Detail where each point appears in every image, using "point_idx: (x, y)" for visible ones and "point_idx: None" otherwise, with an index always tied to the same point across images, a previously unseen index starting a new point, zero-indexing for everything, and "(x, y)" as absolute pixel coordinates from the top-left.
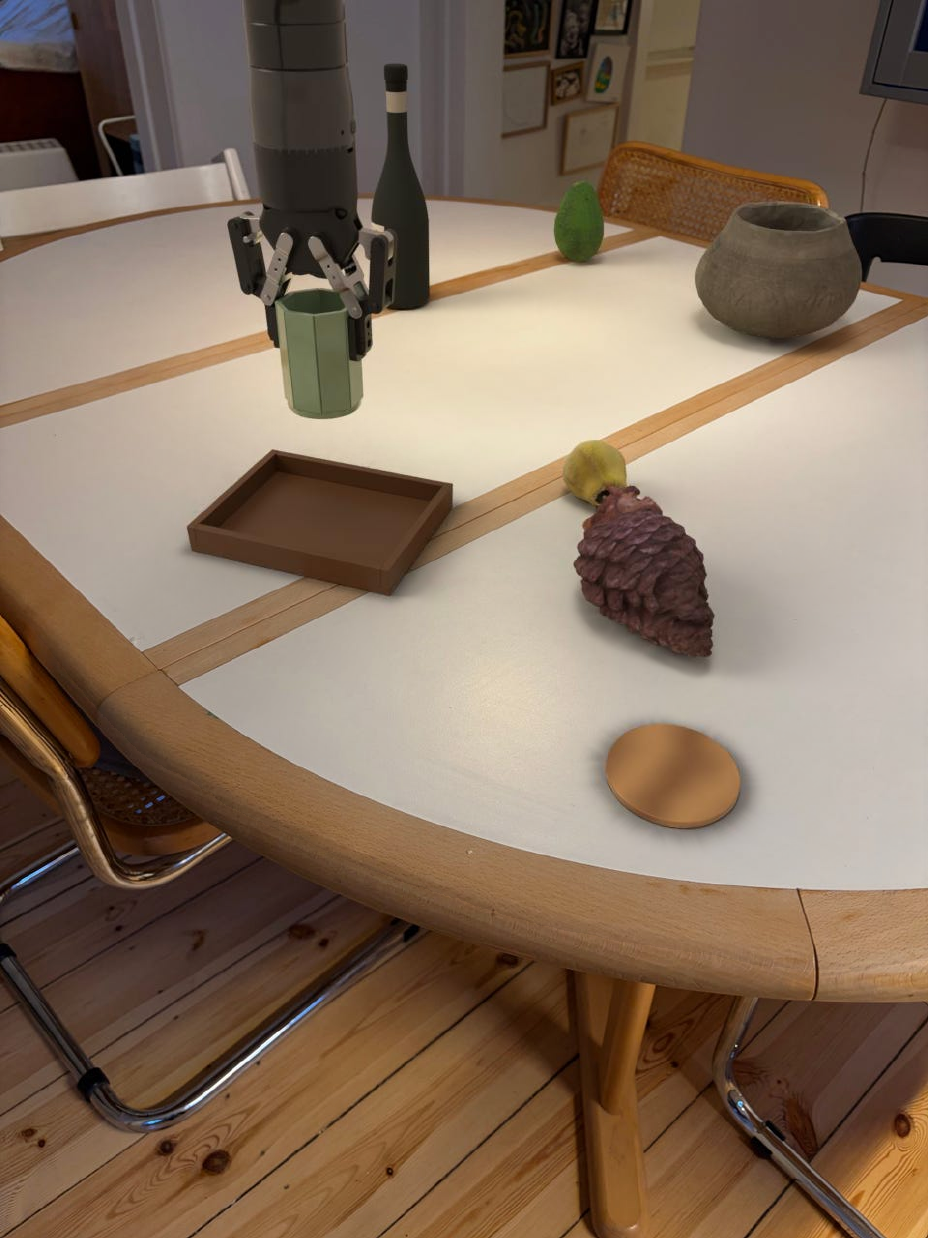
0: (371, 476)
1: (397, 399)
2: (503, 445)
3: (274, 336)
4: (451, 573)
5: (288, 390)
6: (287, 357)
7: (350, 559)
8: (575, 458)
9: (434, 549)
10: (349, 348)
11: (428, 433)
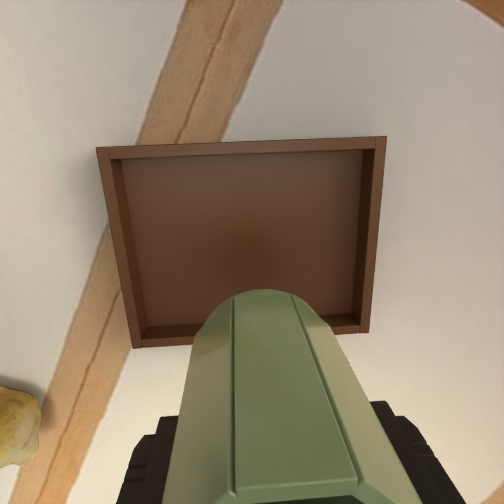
0: None
1: None
2: None
3: (393, 421)
4: (72, 216)
5: (314, 320)
6: (322, 360)
7: (153, 151)
8: (3, 431)
9: None
10: (173, 439)
11: None
